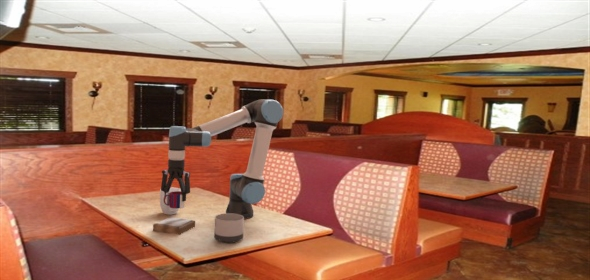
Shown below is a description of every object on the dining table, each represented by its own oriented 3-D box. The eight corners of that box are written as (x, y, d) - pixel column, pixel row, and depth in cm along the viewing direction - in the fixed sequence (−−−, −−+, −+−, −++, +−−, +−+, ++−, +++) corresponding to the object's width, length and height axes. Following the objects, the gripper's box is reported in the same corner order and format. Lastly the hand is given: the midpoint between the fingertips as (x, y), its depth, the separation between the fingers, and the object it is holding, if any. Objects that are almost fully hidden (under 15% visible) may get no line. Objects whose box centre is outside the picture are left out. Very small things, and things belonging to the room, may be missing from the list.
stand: (194, 226, 207) (195, 219, 207) (179, 234, 194) (179, 227, 194) (169, 223, 211) (169, 216, 211) (153, 230, 198) (153, 223, 197)
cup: (186, 207, 202) (186, 193, 202) (165, 209, 196) (165, 195, 196) (180, 204, 208) (181, 190, 207) (160, 206, 202) (160, 192, 201)
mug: (185, 216, 225) (186, 192, 224) (164, 218, 219) (165, 193, 218) (176, 209, 237) (177, 186, 236) (156, 211, 231) (157, 188, 230)
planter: (224, 233, 199) (224, 211, 198) (248, 238, 194) (249, 215, 193) (208, 241, 187) (209, 218, 186) (233, 246, 182) (234, 222, 181)
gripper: (199, 160, 201) (197, 207, 202) (162, 156, 206) (161, 202, 208) (191, 161, 193) (189, 211, 195) (153, 157, 199) (151, 206, 201)
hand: (174, 206), depth 202 cm, fingers closed on cup, 7 cm apart
